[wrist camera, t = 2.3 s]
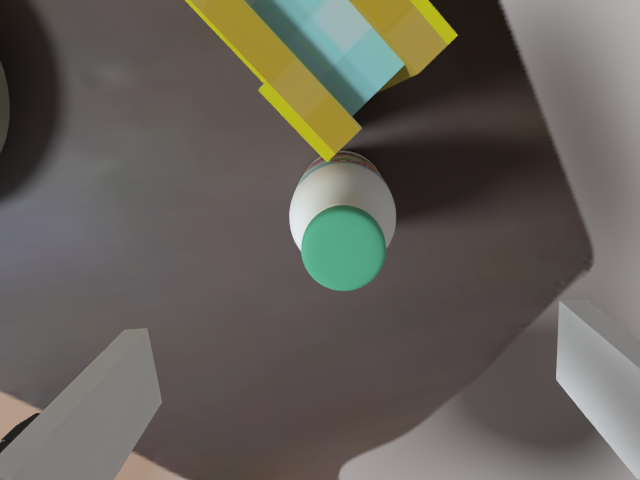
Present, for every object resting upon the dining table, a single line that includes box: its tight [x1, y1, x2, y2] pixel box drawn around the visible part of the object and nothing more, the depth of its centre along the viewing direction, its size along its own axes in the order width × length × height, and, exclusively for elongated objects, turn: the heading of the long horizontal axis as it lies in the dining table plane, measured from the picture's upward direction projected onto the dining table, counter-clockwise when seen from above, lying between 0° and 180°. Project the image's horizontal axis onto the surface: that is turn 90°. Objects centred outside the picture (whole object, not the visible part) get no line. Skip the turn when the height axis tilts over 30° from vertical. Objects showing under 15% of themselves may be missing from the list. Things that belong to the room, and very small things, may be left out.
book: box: [185, 0, 458, 162], centre depth 29 cm, size 17×7×25 cm, turn 44°
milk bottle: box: [289, 151, 396, 291], centre depth 35 cm, size 8×8×20 cm
